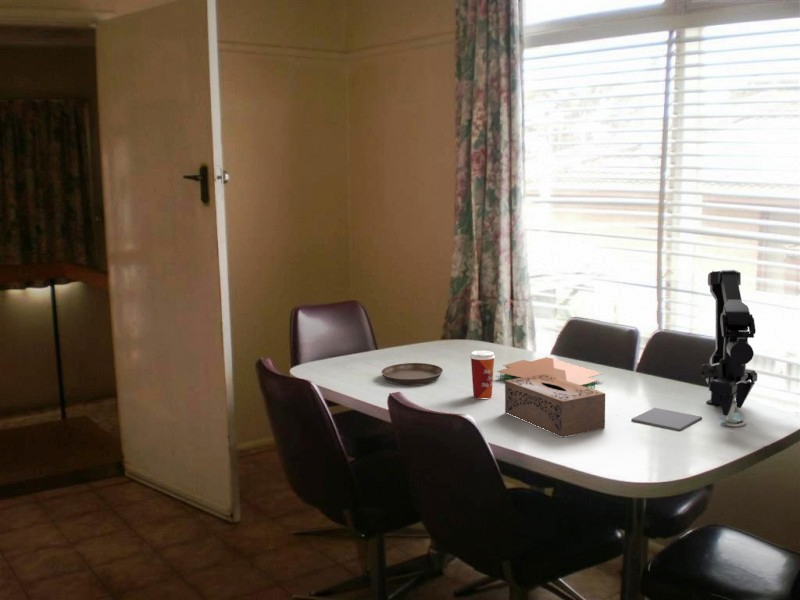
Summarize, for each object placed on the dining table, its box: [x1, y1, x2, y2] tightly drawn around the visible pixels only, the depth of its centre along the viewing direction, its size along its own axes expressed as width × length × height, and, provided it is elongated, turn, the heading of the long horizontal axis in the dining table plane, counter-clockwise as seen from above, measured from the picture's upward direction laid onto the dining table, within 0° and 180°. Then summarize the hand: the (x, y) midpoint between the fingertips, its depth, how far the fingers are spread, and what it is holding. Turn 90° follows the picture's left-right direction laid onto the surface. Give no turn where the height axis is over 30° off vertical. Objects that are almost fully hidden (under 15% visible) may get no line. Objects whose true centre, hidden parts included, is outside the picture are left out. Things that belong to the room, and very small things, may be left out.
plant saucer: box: [381, 362, 444, 386], centre depth 286 cm, size 21×21×3 cm
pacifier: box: [718, 403, 747, 428], centre depth 231 cm, size 7×6×6 cm
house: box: [497, 356, 604, 390], centre depth 279 cm, size 23×33×8 cm
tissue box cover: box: [504, 374, 606, 438], centre depth 237 cm, size 26×14×10 cm, turn 29°
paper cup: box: [469, 350, 496, 399], centre depth 261 cm, size 8×8×14 cm
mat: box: [631, 407, 703, 431], centre depth 236 cm, size 14×14×1 cm
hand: (732, 411), depth 231 cm, fingers open, 9 cm apart
